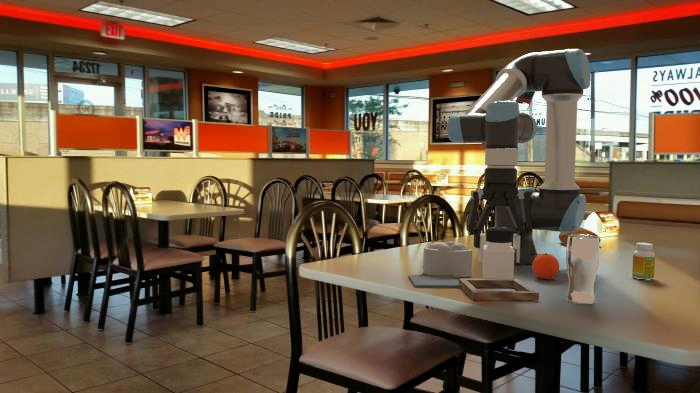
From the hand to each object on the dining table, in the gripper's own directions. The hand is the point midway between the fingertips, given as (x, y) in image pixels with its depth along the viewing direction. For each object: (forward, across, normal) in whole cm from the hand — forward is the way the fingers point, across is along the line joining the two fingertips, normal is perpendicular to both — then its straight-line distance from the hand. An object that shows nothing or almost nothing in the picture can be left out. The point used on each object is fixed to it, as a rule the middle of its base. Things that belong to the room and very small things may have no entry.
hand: (498, 261), depth 138 cm
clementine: (+8, -18, -17) cm, 26 cm away
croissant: (+9, -55, -79) cm, 97 cm away
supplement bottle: (+8, -46, -18) cm, 50 cm away
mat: (+8, +13, -11) cm, 19 cm away
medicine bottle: (+4, 0, 0) cm, 4 cm away
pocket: (+8, 0, 0) cm, 8 cm away
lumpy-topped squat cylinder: (+8, +7, -23) cm, 25 cm away
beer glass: (+8, -17, +8) cm, 20 cm away
